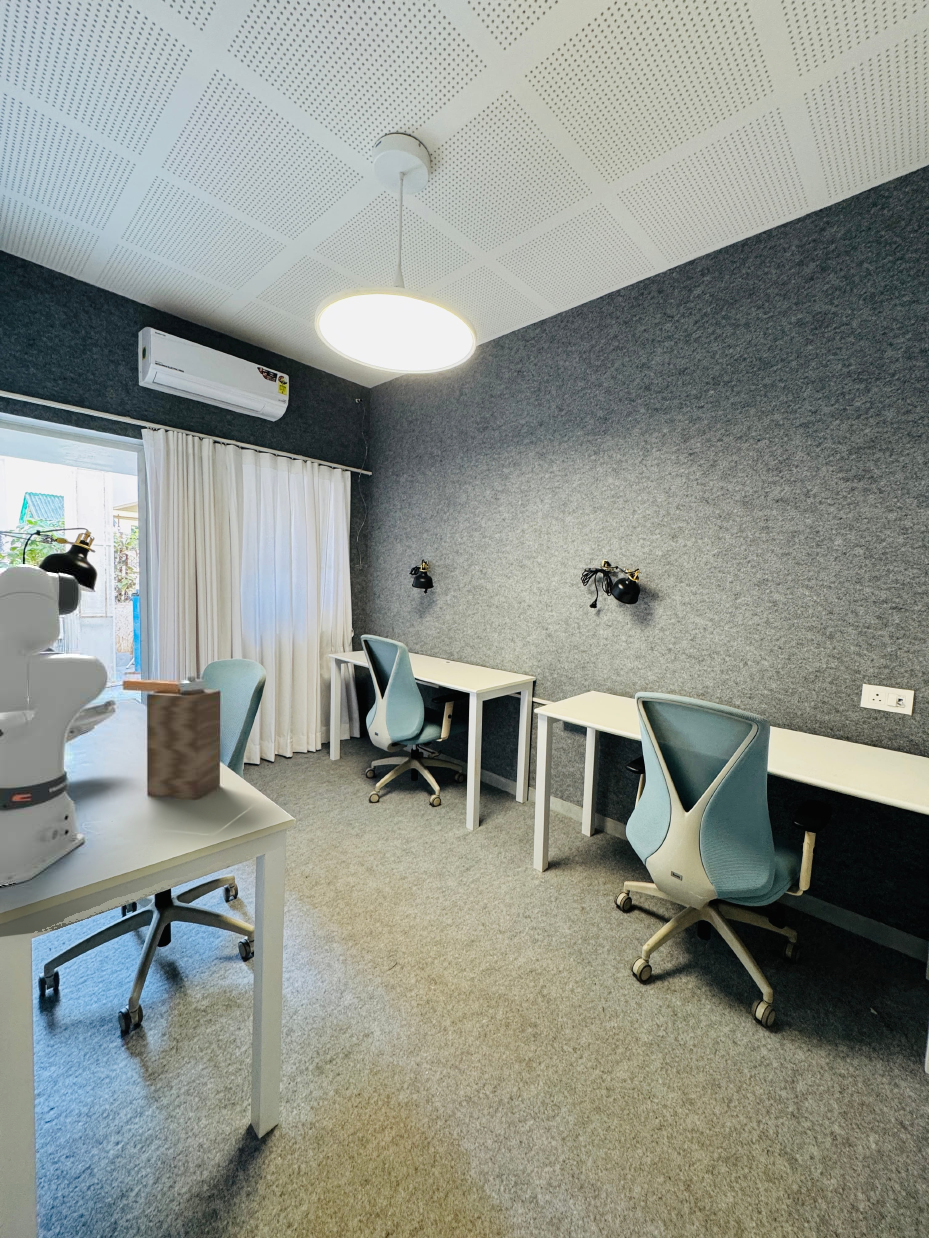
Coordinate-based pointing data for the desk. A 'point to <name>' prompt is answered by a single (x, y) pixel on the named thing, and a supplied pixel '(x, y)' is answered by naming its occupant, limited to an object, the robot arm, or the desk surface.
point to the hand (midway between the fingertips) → (97, 706)
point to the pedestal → (183, 744)
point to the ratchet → (167, 686)
